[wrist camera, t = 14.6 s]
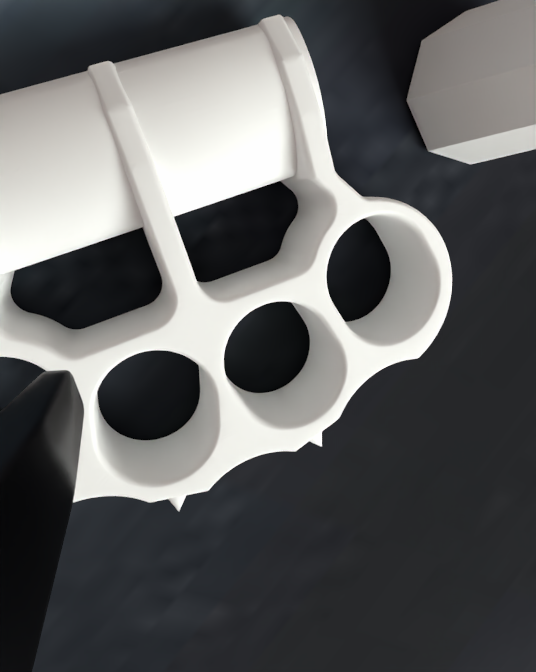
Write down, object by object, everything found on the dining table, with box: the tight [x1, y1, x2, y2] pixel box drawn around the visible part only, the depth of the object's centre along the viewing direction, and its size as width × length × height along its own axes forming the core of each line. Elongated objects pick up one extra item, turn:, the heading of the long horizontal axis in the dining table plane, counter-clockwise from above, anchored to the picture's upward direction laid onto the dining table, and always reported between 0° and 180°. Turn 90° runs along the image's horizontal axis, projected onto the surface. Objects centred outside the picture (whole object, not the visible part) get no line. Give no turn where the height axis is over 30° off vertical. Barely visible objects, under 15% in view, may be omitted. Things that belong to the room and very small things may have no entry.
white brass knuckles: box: [0, 15, 452, 511], centre depth 17 cm, size 3×18×15 cm
